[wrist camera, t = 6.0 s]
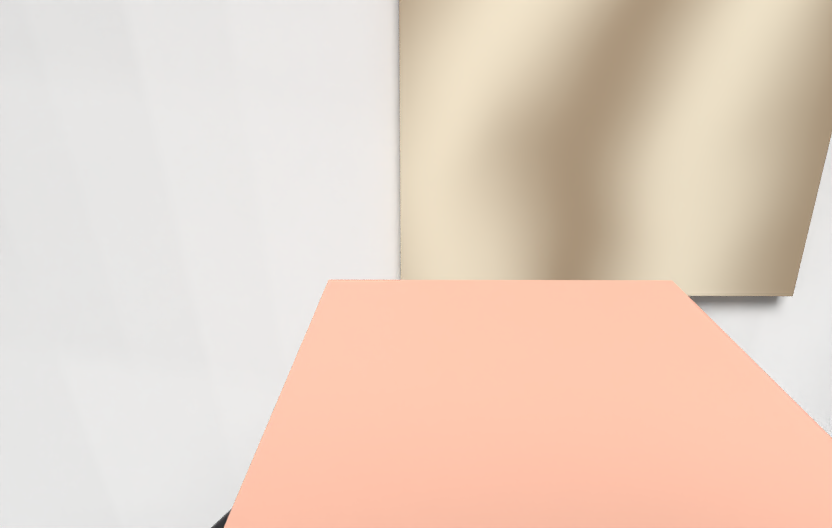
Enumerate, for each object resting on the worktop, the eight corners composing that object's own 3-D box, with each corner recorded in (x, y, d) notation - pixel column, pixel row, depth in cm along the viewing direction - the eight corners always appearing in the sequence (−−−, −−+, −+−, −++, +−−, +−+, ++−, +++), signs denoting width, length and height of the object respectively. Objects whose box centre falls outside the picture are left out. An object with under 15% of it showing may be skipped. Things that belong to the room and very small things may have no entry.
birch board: (885, -162, 15) (904, -170, 14) (781, 288, 19) (792, 296, 18) (398, -164, 15) (398, -171, 14) (401, 287, 19) (400, 294, 18)
